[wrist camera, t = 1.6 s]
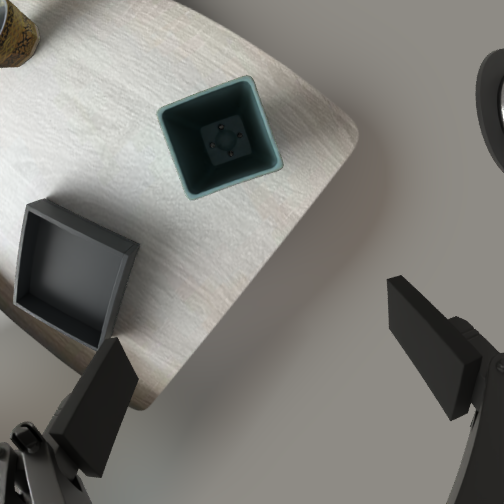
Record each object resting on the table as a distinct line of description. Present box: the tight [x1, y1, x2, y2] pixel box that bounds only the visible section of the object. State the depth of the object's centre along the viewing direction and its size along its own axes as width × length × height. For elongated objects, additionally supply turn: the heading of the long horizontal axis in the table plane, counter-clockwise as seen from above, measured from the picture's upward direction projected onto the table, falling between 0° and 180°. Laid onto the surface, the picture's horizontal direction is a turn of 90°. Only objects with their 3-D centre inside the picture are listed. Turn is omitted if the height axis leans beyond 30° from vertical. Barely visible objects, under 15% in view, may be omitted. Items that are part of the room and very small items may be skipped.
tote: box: [13, 198, 140, 351], centre depth 37 cm, size 15×15×4 cm
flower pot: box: [156, 75, 284, 200], centre depth 30 cm, size 9×9×9 cm
